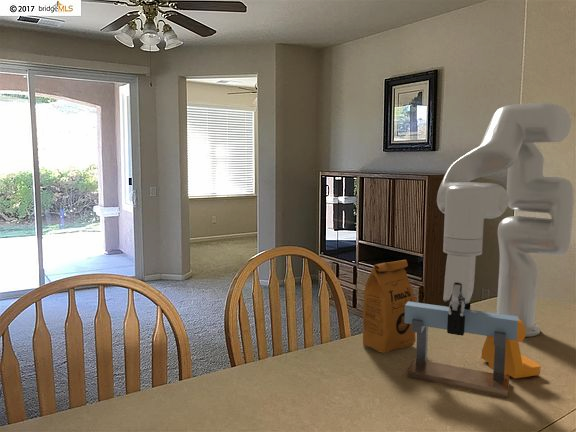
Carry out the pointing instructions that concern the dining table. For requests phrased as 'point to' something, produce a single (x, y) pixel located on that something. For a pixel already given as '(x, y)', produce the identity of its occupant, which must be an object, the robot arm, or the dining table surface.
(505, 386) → the stand
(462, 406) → the dining table surface
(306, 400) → the dining table surface
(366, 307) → the coffee package
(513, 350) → the bracket
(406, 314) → the rail
